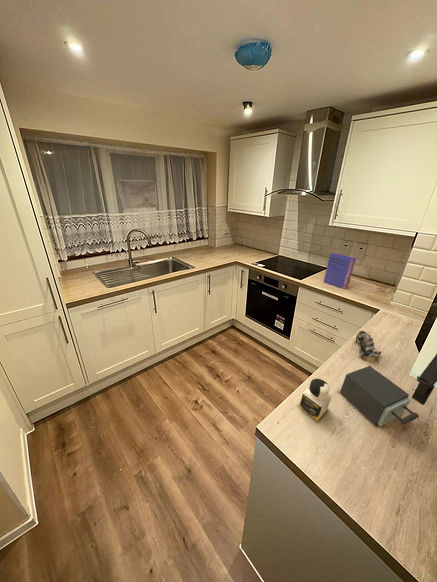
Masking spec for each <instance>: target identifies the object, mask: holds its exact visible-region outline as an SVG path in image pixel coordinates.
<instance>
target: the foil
mask: <svg viewBox="0 0 437 582" xmlns="http://www.w3.org/2000/svg"><path fill="white" fill-rule="evenodd" d="M355 336H356V337H355V343H356V344H358V345H359V349H358V350H359V358H360V359H363V358H365V357H367V358H369V359H370V358H371V356H372V357H374V360H375V361H376V362H378V359H379V356H380V355H381V354H382V351H377V350H378V349H377V348H376V347H375V341H374V338H373V337H372V335H371V334H370V333H368V332H366V331H364V330H361V331H358V333H356V335H355Z"/></svg>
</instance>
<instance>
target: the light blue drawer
mask: <svg viewBox="0 0 437 582" xmlns="http://www.w3.org/2000/svg"><path fill="white" fill-rule="evenodd" d="M410 402H411V399H410V398H409V396H408V397H406V398H404V399H402V400H400V401H397V402H395V403H393V404H391V405H389V406H387V407H385V408H384V411H383V413H382V415H381V417H380V419H379V421H378V423H377V425H378V426H379V427H383V426H384V425H386V424H388V423H390V422H393V421H394V420H396V419H398V420H399V423H400V425H402V426H406V425H407V424H410V423H411V422H413V421H415V420H416V419H419V418H420V415H419V413H418V412H414V411H412V410H411V409H410V408H409V407H408V406H409V404H410ZM405 411H407V412H408V413H409V414H408V415H407V416H404V417H403V418H402V416H403V415H404V413H405Z"/></svg>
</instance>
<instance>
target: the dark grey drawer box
mask: <svg viewBox="0 0 437 582" xmlns="http://www.w3.org/2000/svg"><path fill="white" fill-rule="evenodd" d="M339 393H340V395H342V396H343V397H344V398H345V399H346V400H347V401H348V402H349V403H350V404H351V405H352V406H353V407H354V408H355V409H356V410H358V411H359V412H360V414H362V415H363V416H364V417H365V418H366V419H367V420H368V421H369V422H370V423H372V424H373V426H377V425H378V424H377V423H378V421H379V419H380V417H381V415H382V413H383V411H384V408H385V407H387V406H389V405H391V404H393V403H395V402H397V401H400V400H402V399H404V398H406V397H408V398H409V396H410V394H409V393H408V392H407V391H405V390H404V389H402V388H401V387H399V386H398V385H397V384H396V383H394V382H392V380H391V379H389V378H387V377H386V376H385V375H384V374H382V373H381V372H380V371H378V370H376V369H375V368H374V367H372V366H371V365H368V366H365V367H362V368H360V369H356V370H354V371H351V372H349V373H346V375H345V377H344V380H343V382H342V385H341V388H340V392H339Z"/></svg>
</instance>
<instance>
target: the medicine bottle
mask: <svg viewBox="0 0 437 582" xmlns="http://www.w3.org/2000/svg"><path fill="white" fill-rule="evenodd" d="M330 389H331V388H330V385H329V384H328V383H327V382H326V381H325V380H324V379H322V378H313V379H311V381H310V384H309V387H308V388H306V390H304V391H303V393H302V395H301V399H300V403H299V408H300V409H302V410H303V411H304V412H305V413H306V414H307V415H309V416H311V418H313V419H314V420H316V421H319V420H320V418H321V417H322V416H323V415H324V414H325V413H327V411H328V409H329V406H330V403H331V400H332V394H331V393H329V392H330Z"/></svg>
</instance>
